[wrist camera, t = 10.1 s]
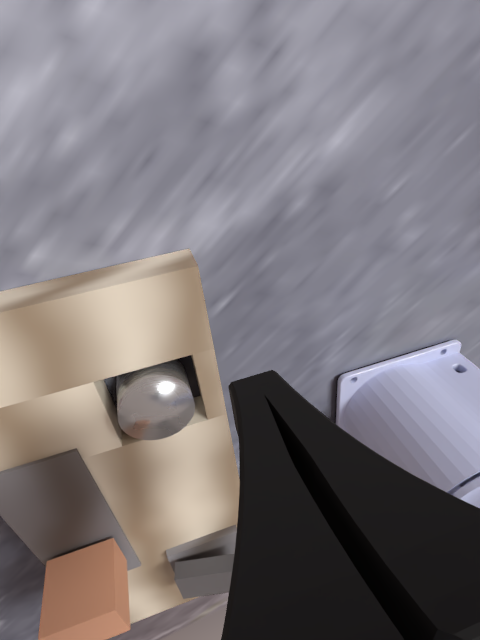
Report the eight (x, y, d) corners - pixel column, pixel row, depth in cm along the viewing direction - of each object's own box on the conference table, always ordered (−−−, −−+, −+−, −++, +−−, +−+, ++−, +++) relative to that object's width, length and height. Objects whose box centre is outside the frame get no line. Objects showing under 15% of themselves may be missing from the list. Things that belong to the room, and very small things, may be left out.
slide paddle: (113, 537, 24) (115, 609, 21) (126, 560, 26) (130, 629, 23) (46, 561, 23) (38, 639, 20) (65, 582, 25) (59, 657, 22)
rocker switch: (237, 553, 27) (238, 570, 26) (242, 573, 29) (243, 590, 28) (175, 562, 27) (174, 579, 26) (183, 581, 29) (183, 598, 28)
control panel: (189, 248, 18) (200, 270, 16) (250, 550, 35) (259, 580, 33) (-119, 318, 16) (-151, 354, 14) (106, 605, 33) (106, 640, 31)
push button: (178, 345, 21) (187, 374, 19) (191, 395, 23) (200, 426, 21) (106, 364, 20) (107, 397, 18) (127, 414, 22) (129, 448, 20)
